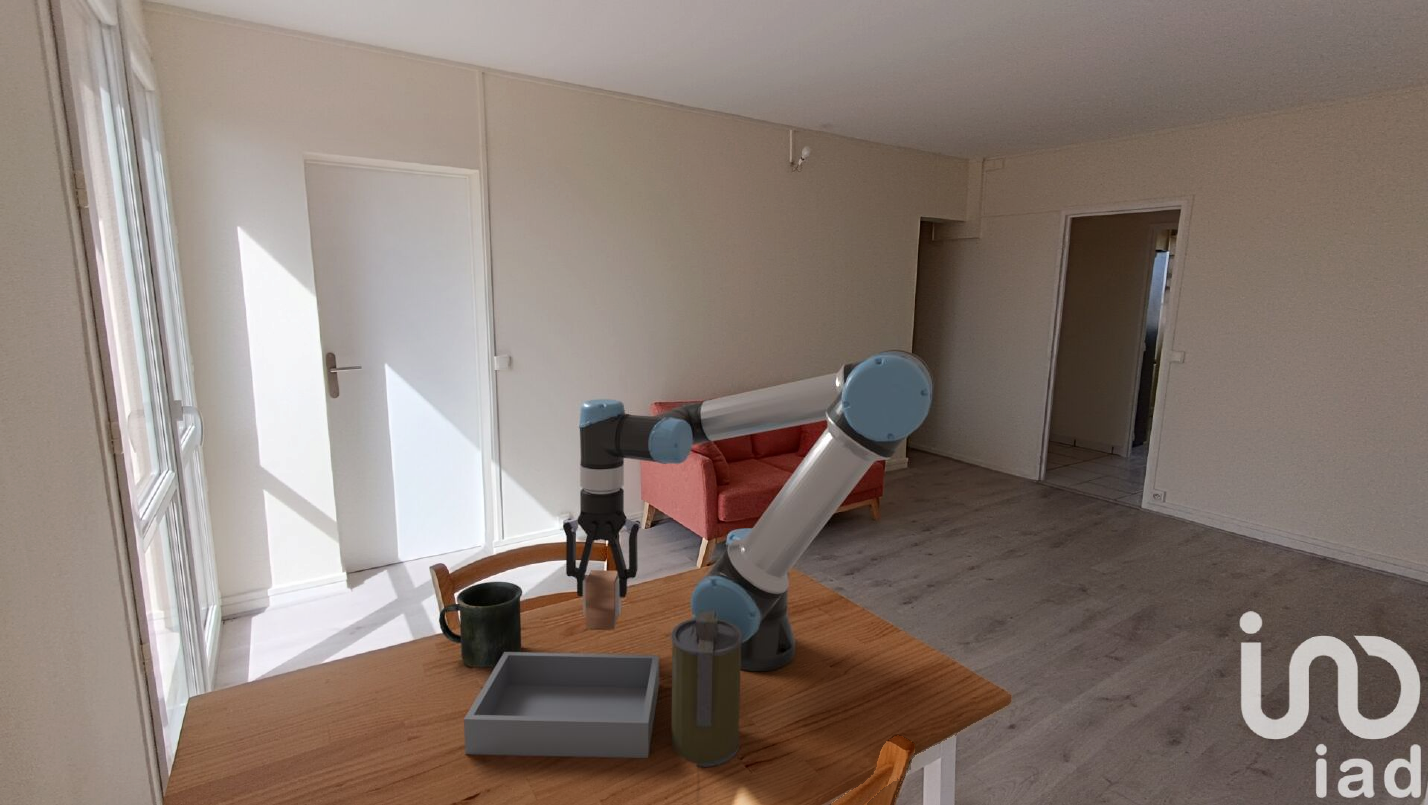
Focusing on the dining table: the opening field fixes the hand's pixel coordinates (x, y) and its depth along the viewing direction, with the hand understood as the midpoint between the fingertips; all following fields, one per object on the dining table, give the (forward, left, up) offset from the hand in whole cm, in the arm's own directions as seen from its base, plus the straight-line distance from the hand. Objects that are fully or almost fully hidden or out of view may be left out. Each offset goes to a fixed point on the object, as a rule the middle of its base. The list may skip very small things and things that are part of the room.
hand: (602, 612), depth 119 cm
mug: (+22, 0, -9) cm, 24 cm away
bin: (+2, +18, -9) cm, 20 cm away
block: (0, 0, -2) cm, 2 cm away
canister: (-19, +23, -9) cm, 31 cm away
